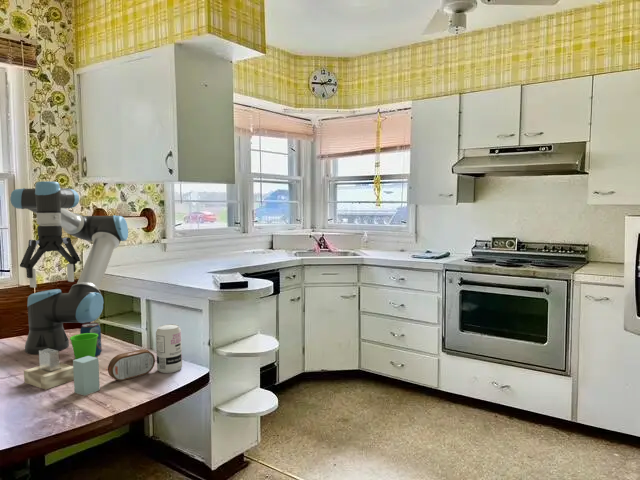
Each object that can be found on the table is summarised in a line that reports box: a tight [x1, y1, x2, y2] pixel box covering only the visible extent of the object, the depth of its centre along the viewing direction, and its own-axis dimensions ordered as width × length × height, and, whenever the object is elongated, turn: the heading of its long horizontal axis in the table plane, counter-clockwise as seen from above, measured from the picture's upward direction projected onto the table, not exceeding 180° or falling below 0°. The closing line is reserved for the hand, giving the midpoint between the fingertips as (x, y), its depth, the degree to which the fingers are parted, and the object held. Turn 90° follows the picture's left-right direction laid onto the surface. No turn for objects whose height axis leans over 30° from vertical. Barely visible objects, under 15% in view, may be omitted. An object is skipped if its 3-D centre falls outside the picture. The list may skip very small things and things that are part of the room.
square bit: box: [72, 356, 101, 396], centre depth 141 cm, size 5×5×10 cm
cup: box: [69, 333, 99, 360], centre depth 163 cm, size 9×9×11 cm
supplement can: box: [155, 323, 183, 374], centre depth 159 cm, size 8×8×15 cm
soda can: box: [79, 322, 102, 358], centre depth 175 cm, size 7×7×12 cm
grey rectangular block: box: [38, 348, 60, 372], centre depth 150 cm, size 3×6×10 cm, turn 60°
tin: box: [107, 348, 156, 382], centre depth 153 cm, size 15×3×8 cm, turn 136°
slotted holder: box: [23, 362, 74, 390], centre depth 150 cm, size 10×12×4 cm
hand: (52, 284), depth 166 cm, fingers open, 13 cm apart
